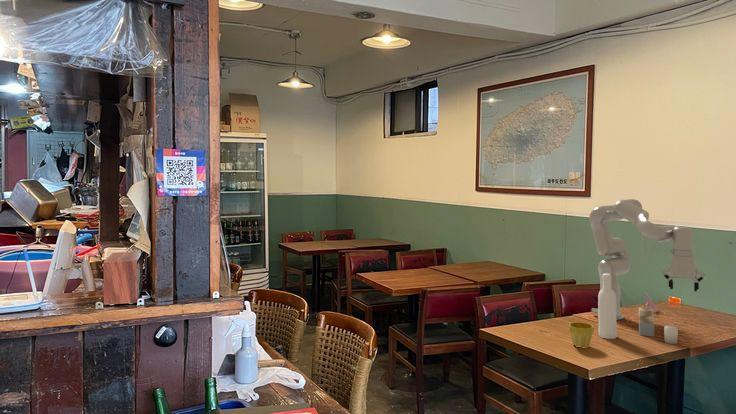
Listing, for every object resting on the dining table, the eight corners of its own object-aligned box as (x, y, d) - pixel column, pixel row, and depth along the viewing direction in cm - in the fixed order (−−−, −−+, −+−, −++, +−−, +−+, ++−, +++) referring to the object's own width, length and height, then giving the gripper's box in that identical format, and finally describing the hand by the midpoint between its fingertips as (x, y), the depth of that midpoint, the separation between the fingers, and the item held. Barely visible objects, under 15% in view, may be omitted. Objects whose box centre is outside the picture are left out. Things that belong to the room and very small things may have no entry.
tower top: (639, 322, 241) (639, 310, 240) (638, 319, 246) (638, 307, 246) (654, 323, 238) (654, 311, 238) (652, 320, 244) (652, 308, 243)
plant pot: (599, 348, 225) (598, 326, 225) (579, 351, 222) (579, 329, 222) (583, 341, 235) (582, 320, 234) (564, 344, 232) (563, 323, 232)
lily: (646, 316, 274) (656, 302, 272) (629, 304, 284) (638, 290, 281) (658, 319, 280) (668, 305, 277) (641, 307, 290) (651, 293, 287)
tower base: (639, 335, 241) (639, 322, 241) (638, 331, 246) (638, 319, 246) (654, 336, 238) (654, 323, 238) (653, 332, 244) (652, 320, 244)
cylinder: (665, 343, 228) (664, 328, 228) (663, 339, 233) (663, 324, 233) (678, 344, 226) (678, 329, 226) (676, 340, 231) (676, 325, 231)
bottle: (609, 340, 235) (608, 276, 233) (594, 336, 242) (593, 273, 240) (620, 337, 239) (619, 274, 237) (605, 333, 246) (605, 271, 244)
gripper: (660, 253, 237) (660, 289, 238) (704, 255, 226) (704, 293, 226) (663, 251, 243) (663, 286, 243) (706, 253, 231) (706, 290, 232)
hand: (683, 289), depth 235 cm, fingers open, 9 cm apart
